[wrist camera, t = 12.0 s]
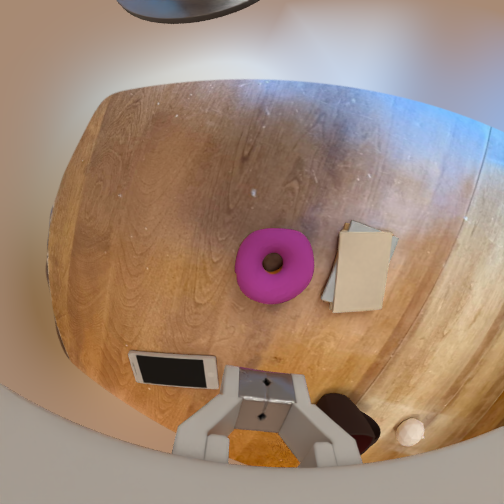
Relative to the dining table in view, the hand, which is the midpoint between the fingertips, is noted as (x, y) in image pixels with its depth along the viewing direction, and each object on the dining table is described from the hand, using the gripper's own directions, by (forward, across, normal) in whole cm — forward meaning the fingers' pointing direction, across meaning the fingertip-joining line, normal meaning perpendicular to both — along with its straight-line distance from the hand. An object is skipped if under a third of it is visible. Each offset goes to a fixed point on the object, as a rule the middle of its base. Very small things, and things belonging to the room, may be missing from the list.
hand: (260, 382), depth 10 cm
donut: (+29, -4, +5) cm, 30 cm away
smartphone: (+29, +8, +28) cm, 41 cm away
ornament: (+29, -46, +39) cm, 67 cm away
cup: (+29, -24, +32) cm, 49 cm away
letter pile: (+29, -16, +4) cm, 34 cm away
